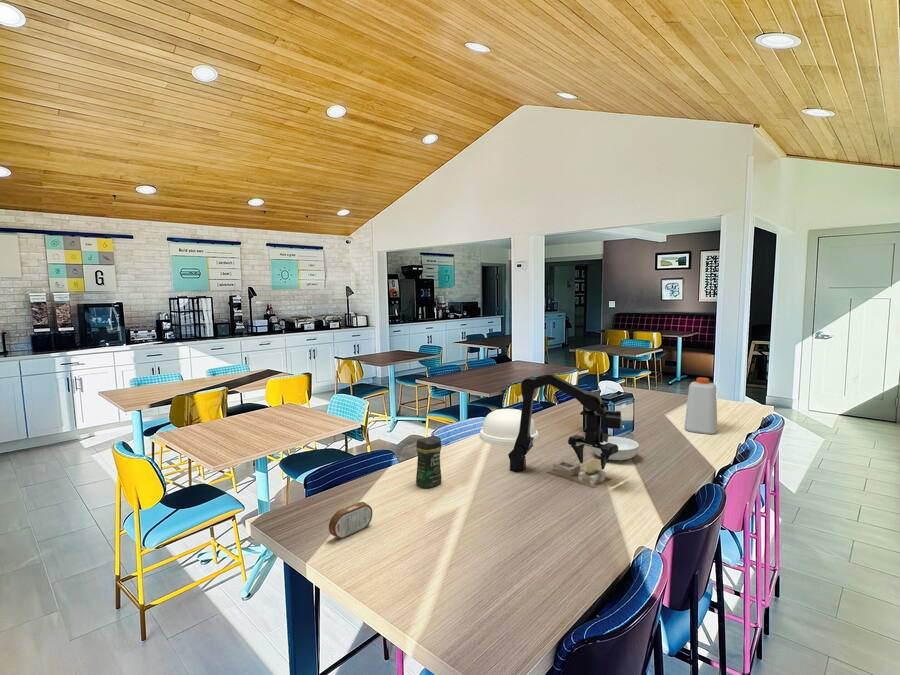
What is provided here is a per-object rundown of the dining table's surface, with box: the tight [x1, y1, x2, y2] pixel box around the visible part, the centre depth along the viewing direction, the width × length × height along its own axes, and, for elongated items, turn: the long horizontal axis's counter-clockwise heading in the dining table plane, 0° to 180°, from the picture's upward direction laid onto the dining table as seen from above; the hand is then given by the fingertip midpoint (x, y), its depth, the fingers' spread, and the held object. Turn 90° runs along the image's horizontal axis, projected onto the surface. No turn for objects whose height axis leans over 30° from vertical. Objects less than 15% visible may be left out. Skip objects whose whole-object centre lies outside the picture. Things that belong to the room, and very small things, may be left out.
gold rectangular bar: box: [582, 458, 601, 475], centre depth 188 cm, size 2×10×7 cm, turn 133°
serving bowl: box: [590, 435, 640, 461], centre depth 217 cm, size 21×21×7 cm
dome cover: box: [479, 408, 540, 448], centre depth 248 cm, size 32×30×14 cm
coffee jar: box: [415, 435, 442, 489], centre depth 187 cm, size 10×8×19 cm
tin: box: [328, 501, 373, 539], centre depth 150 cm, size 15×3×8 cm, turn 138°
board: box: [545, 459, 613, 489], centre depth 193 cm, size 13×22×4 cm, turn 43°
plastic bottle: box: [683, 376, 718, 435], centre depth 258 cm, size 15×15×28 cm
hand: (592, 466), depth 188 cm, fingers open, 9 cm apart
